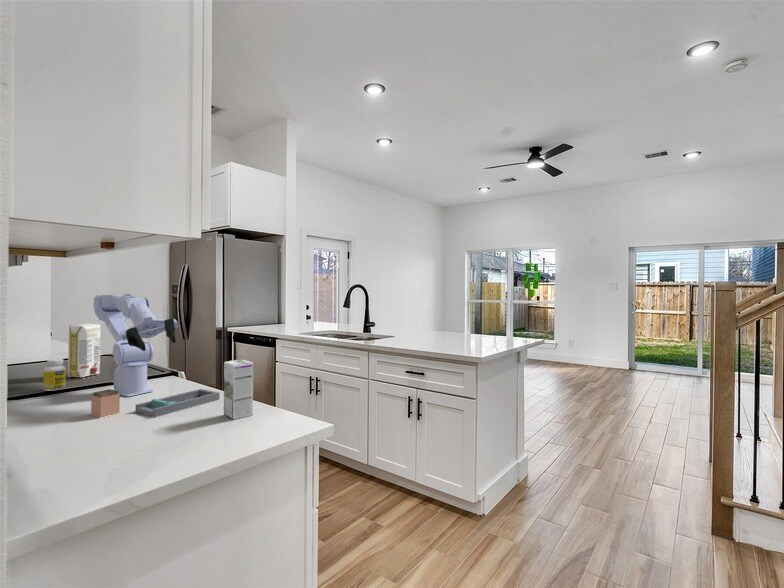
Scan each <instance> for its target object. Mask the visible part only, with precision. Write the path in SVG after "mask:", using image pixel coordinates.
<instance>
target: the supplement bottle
mask: <svg viewBox="0 0 784 588" xmlns="http://www.w3.org/2000/svg"><path fill="white" fill-rule="evenodd" d="M63 364H64V359H63V358H53V359H51V358H50V359H47V361H46V365H47V366H46V367H44V368H43V388H44V389H56V388H62V387H65V388H66V386H67V385H66V380H67V379H66V377H67V368H66V366H65V365H63Z"/></svg>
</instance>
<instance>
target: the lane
mask: <svg viewBox="0 0 784 588" xmlns="http://www.w3.org/2000/svg"><path fill="white" fill-rule="evenodd" d="M199 396H201V397H199ZM220 396H221V395H220V392H219V391H213V390H210V389H209V390H208V389H202V388H200V389H193V390H191V391H187V392H182V393H179V394H178V393H177V394H175V395H174V394H173V395H170V396H165V397H163V398H158V400H162V401H166V402H171V401H175V402H178V403H174V404H170V405H166V406H163V407H159V408H155V409H152V408H151V407H152V400H150V401H149V400H148V401H145V402H141V403H136V404H135V413H137V412H138V414H141V413H142V415H145V414H146V416H149V415H150V416H149V417H152V416H154V417H153V418H158V417H160V416H164V414H165V415H168V413H169V414H172V413H175V412H174V411H176V412H178V410H179V411H182V410H181V409H183V410H185V408H186V409H189V408H188V407H190V408H193V407H192V406H194V407H197V406H200V405H199V404H201V405H204V404H208V403H211V402H215V401H218V400H220ZM195 397H196V398H195ZM191 398H192V399H191ZM187 399H188V400H187ZM183 400H184V401H183ZM179 401H180V402H179ZM210 401H211V402H210ZM207 402H208V403H207ZM203 403H204V404H203ZM196 405H197V406H196ZM171 412H172V413H171ZM157 416H158V417H157Z"/></svg>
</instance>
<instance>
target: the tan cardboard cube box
mask: <svg viewBox="0 0 784 588" xmlns="http://www.w3.org/2000/svg"><path fill="white" fill-rule="evenodd" d="M120 396H121V395H120V394H118V391H115V390H114V389H111V388H109V389H103V390H99V391H93V392H92V395H91V398H90V399H91V404H90V407H91V410H90V411H91V412H90V415H91V416H92V415H94V416H93V417H96V416H97V417H96V418H99V417H103V418H106V417H105V416H107V417H109V416H108V415H111V416H114V415H113V414H115V415H118V414H117V413H119V414H120V406H121V405H120Z"/></svg>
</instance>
